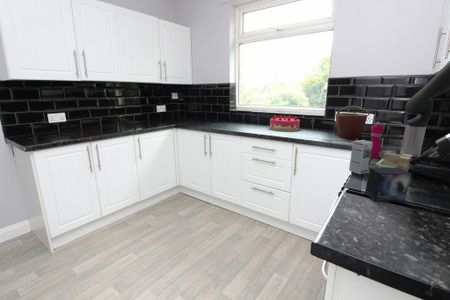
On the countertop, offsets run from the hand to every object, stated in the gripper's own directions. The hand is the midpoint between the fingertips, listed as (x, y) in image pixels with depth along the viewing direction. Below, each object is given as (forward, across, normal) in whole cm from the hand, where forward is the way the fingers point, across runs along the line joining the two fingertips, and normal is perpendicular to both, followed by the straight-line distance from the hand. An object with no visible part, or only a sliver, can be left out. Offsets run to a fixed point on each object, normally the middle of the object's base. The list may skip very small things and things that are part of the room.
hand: (410, 163), depth 108 cm
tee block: (+7, 0, -1) cm, 7 cm away
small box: (+4, +42, +2) cm, 42 cm away
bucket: (+37, -70, -32) cm, 85 cm away
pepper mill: (+16, -17, -11) cm, 26 cm away
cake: (+78, -68, -73) cm, 126 cm away
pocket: (+9, 0, -3) cm, 9 cm away
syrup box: (+15, +18, -9) cm, 25 cm away
